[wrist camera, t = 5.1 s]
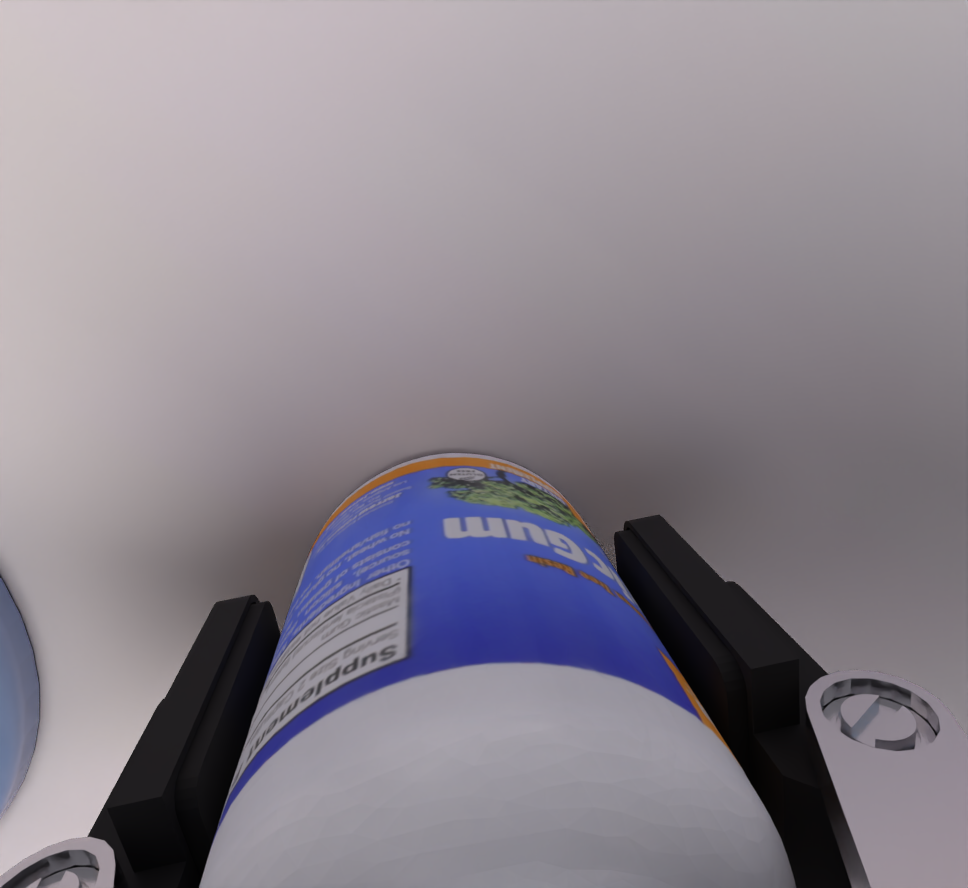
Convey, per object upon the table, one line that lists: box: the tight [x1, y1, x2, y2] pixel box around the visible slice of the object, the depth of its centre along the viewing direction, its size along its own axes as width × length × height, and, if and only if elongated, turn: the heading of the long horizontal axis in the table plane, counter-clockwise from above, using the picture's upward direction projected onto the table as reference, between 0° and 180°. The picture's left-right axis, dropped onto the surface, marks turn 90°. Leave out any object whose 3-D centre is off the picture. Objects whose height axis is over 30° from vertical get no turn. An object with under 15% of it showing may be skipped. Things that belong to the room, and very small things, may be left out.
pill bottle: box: [199, 453, 796, 888], centre depth 8 cm, size 5×5×10 cm
